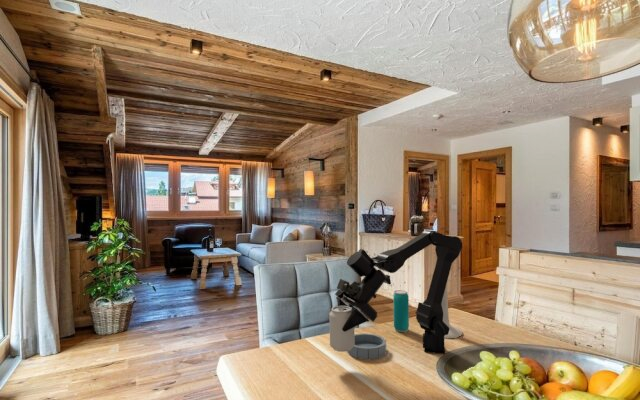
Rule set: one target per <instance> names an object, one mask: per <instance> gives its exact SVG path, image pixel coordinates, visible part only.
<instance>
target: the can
mask: <svg viewBox="0 0 640 400" xmlns="http://www.w3.org/2000/svg"><path fill="white" fill-rule="evenodd" d="M351 310H352V307H348V306H337V305H335V306H332V308H331V311H330V312H329V313H328V315H329V316H328V317H329V320H328V321H329V346H330V347H331V348H332V349H333V350H334V351H336V352H345V353H346V352H347V351H349V350H351V349H352V348H353V347H354V346H355V336H354V334H355V327H353V328H351V329H349V330H348V331H346V332H344V331H343V330H342V328H343V326H344V325H345V323H346V322H347V320H348V318H349V317H350V315H351V314H352V311H351Z"/></svg>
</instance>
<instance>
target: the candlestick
mask: <svg viewBox="0 0 640 400" xmlns="http://www.w3.org/2000/svg"><path fill="white" fill-rule="evenodd" d="M447 285H448V284H446V288H445V292H444V296H443V299H442V304H441V305H442V310H443V322H444V323H445V324H446V325H447V326H448V327H449V328H450V329H449V333H448V335H445V336H444V339H445V338H455V339H458V338H457V337H459V336H461V335H462V336H463V331H462V330H461V329H460V328H459V327H457V326H455V325H451V324H450V318H449V304H448V303H449V302H448V300H449V299H448V288H447V287H448V286H447ZM462 336H461V337H462ZM459 338H460V337H459Z"/></svg>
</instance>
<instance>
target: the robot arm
mask: <svg viewBox="0 0 640 400" xmlns="http://www.w3.org/2000/svg"><path fill="white" fill-rule="evenodd" d="M430 245H431V246H432V245H433V246H435V255H436V261H435V267H434V269H433V274H432V277H431V281H430V283H429V284H430V285H429V288H428V292H427V296H426V299H425V300H424V301H423V302H418V304H417V309H416V311H415V314H416V315H415V319H416V321H417V323H418V324H419V327H420V329H422V330H424V332H423V334H422V348H423V349H424V350H423V351H424V353H430V354H439V355H445V354H446V347H445V338H444V336H445V335H448V333H449V329H450V328H449V327H448V326H447V325H446V324H445V323H444V322H443V310H442V305H441V304H442V299H443V296H444V292H445V288H446V285H448V284H447V283H448V280H449V276H450V272H451V268H452V265H453V263H454V261H455V260H457V258H458V257H459V256H460V254H461V251H462V249H463V241H462V240H461V238H460V237H458V236H457V235H456V236H455V235H447V234H443V233H440V232H439V231H435V230H431V229H428V230H427V229H425V230H424V231H422V232H421V234H418V235H417V236H415V237H413V238H411V239H410V240H408V241H407V242H405V243H403V244H402V245H400V246H399V247H395V248H391V249H387V250H386V251H382V252H381V253H378V254H377V256H373V257H371V256H370V255H369V254H368V252H367V251H366V250H365V249H362V248H360V249H359V250H358V251H356V252H354V253H352V254H351V255H349V257H348V258H347V260H346V265H347V266H348V267H349V268H350V269H351V270H352V271H353V272H354V273H355V274H357V276H358V277H360V278H361V277H363V278H362V279H361V281H355V280H350V281H348V280H345V279H342V278H340V279H339V280H338V284H337V287H336V289H337V291H336V292H335V293H334V295H335V296H336V297H335V298H336V302H337V305H336V306H348V307H351V308H352V310H351V311H352V314H351V315H350V317H349V318H348V320H347V322H346V323H345V325H344V326H343V328H342V330H343V331H344V332H346V331H348V330H349V329H351V328H353V327H354V328H355V327H358V326H359V325H362V324H364V323H366V322H367V323H369V322H371V321H372V322H373V323H374V322H375V321H376V320H377V318H378V311H376V309H375V308H374V307H372V306H371V305H370V304H369V302H370V301H371V300H372V299H376V298H377V297H378V296H377V295H376V294H377V292H378V291H379V289H380V288H381V287H382V286H383V285H384V283H385V284H387V285H391V284H392V283H391V281H392V280H391V276H390V275H389V274H394V273H396V272H398V271H399V270H400V269H401V268H402V267H403V266H404V264H405V262H406V261H407V260H408V259H409V258H411V257H413V256H415V255H417V253H419V252H422V250H424V249H426V248H428V247H429V246H430ZM383 271H384V272H387V273H389V274H385V273H384V272H383Z"/></svg>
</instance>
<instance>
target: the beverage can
mask: <svg viewBox="0 0 640 400" xmlns="http://www.w3.org/2000/svg"><path fill="white" fill-rule="evenodd" d="M393 292H394V294H393V295H392V296H393V327H394V329H395V331H396V332H398V333H406V332H408V330H409V328H410V327H409V326H410V316H409V315H410V311H409V310H410V309H409V302H410V301H409V294H408V291H407V290H394V291H393Z"/></svg>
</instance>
